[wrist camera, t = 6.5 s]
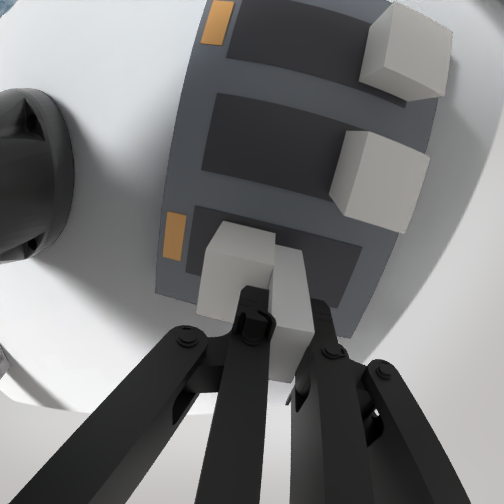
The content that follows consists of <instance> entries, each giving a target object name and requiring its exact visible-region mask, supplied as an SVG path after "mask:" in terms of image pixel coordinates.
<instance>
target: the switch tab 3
mask: <svg viewBox="0 0 504 504" xmlns="http://www.w3.org/2000/svg"><path fill="white" fill-rule="evenodd" d="M430 158H431V157H429V156H427V155H425V154H423V153H421V152H419V151H416V150H414V149H412V148H410V147H407V146H405V145H403V144H400V143H398V142H395V141H393V140H391V139H388V138H386V137H383V136H380V135H378V134H375V133H373V132H370V131H346V134H345V138H344V142H343V145H342V149H341V153H340V156H339V160H338V164H337V167H336V171H335V174H334V178H333V181H332V185H331V188H330V191H329V196H330V197H331V198H332V200H333V201H334V202H335V204H336V205H337V207H338V208H339V209H340V211H341V212H342V214H343V215H344V216H346V217H350V218H353V219H357V220H360V221H363V222H367V223H370V224H373V225H376V226H380V227H383V228H386V229H389V230H392V231H395V232H398V233H401V234H404V235H405V233H406V231H407V228H408V225H409V223H410V220H411V217H412V214H413V212H414V209H415V206H416V203H417V200H418V197H419V194H420V191H421V188H422V185H423V182H424V178H425V175H426V172H427V168H428V165H429V161H430Z"/></svg>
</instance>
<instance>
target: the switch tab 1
mask: <svg viewBox="0 0 504 504" xmlns="http://www.w3.org/2000/svg"><path fill="white" fill-rule="evenodd" d="M275 235H276V233H272V232H268V231H264V230H260V229H256V228H252V227H248V226H243V225H239V224H235V223H231V222H227V221H223V222H222V223H221V225H220V227H219V228H218V230H217V231H216V233H215V235H214V236H213V238H212V240H211V241H210V243H209V245H208V246H207V248H206V251H205V257H204V263H203V269H202V276H201V282H200V289H199V295H198V302H197V309H196V314H198V315H202V316H206V317H210V318H213V319H217V320H221V321H225V322H229V323H234V319H235V314H236V310H237V306H238V301H239V297H240V292H241V290H242V289H243V288H244V287H245V286H246V285H249V286H254V287H258V288H263V289H267V287H268V283H269V280H270V277H271V273H272V270H273V266H274V253H275Z"/></svg>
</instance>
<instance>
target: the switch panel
mask: <svg viewBox="0 0 504 504" xmlns="http://www.w3.org/2000/svg"><path fill="white" fill-rule="evenodd" d="M391 4H392V3H391V2H389V1H386V0H207V2H206V5H205V8H204V12H203V15H202V18H201V21H200V24H199V28H198V31H197V35H196V38H195V42H194V45H193V49H192V52H191V56H190V60H189V64H188V68H187V72H186V76H185V80H184V84H183V89H182V93H181V98H180V102H179V107H178V112H177V117H176V122H175V127H174V132H173V138H172V144H171V149H170V155H169V162H168V168H167V175H166V182H165V189H164V197H163V205H162V213H161V223H160V233H159V243H158V255H157V269H156V286H155V293H157V294H160V295H164V296H167V297H171V298H174V299H178V300H181V301H185V302H189V303H192V304H196V305H197V302H198V295H199V289H200V282H201V276H202V269H203V263H204V257H205V251H206V248H207V246H208V245H209V243H210V241H211V240H212V238H213V236H214V235H215V233H216V231H217V230H218V228H219V227H220V225H221V223H222V222H223V221H227V222H231V223H235V224H239V225H243V226H248V227H252V228H256V229H260V230H264V231H268V232H272V233H276V235H275V244H276V245H280V246H285V247H289V248H293V249H297V250H302V254H303V260H304V266H305V271H306V278H307V284H308V290H309V297H310V298H314V299H319V300H324V301H325V302H326V304H327V305H328V306H329V308H330V310H331V315H332V316H331V317H332V319H333V323H334V328H335V332H336V336H339V337H344V338H351V337H352V335H353V333H354V331H355V329H356V327H357V325H358V323H359V321H360V319H361V317H362V315H363V313H364V311H365V309H366V307H367V305H368V303H369V301H370V299H371V297H372V295H373V293H374V291H375V289H376V286H377V284H378V282H379V280H380V278H381V275H382V273H383V271H384V269H385V266H386V264H387V262H388V259H389V257H390V254H391V252H392V250H393V247H394V245H395V242H396V240H397V237H398V234H399V233H398V232H395V231H392V230H389V229H386V228H383V227H380V226H376V225H373V224H370V223H367V222H363V221H360V220H357V219H353V218H350V217H346V216H344V215H343V214H342V212H341V211H340V209H339V208H338V207H337V205H336V204H335V202H334V201H333V200H332V198H331V197H330V196H329V191H330V188H331V185H332V181H333V178H334V174H335V171H336V167H337V164H338V160H339V156H340V153H341V149H342V145H343V142H344V138H345V134H346V131H370V132H373V133H375V134H378V135H380V136H383V137H386V138H388V139H391V140H393V141H395V142H398V143H400V144H403V145H405V146H407V147H410V148H412V149H414V150H416V151H419V152H421V153H423V154H425V152H426V148H427V145H428V141H429V137H430V133H431V128H432V124H433V120H434V115H435V110H436V106H437V100H438V97H435V98H428V99H421V100H415V101H409V102H408V101H406V100H404V99H401V98H399V97H397V96H394V95H392V94H390V93H387V92H385V91H383V90H380V89H378V88H375V87H372V86H370V85H367V84H364V83H362V82H359V77H360V72H361V67H362V63H363V58H364V53H365V48H366V43H367V38H368V33H369V28H370V26H371V25H372V24H373V23H374V22H375V21H376V20H377V19H378V18H379V17H380V16H381V15H382V14H383V13H384V12H385V10H386V9H387V8H388V7H389V6H390V5H391Z"/></svg>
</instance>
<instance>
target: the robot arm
mask: <svg viewBox="0 0 504 504" xmlns="http://www.w3.org/2000/svg"><path fill="white" fill-rule="evenodd" d="M16 1H17V0H0V18H1V17H2V15H4V14H5V13H6V12H8V11H9V10H10V9H11V8H12V7H13V5H14V4H15V3H16ZM73 183H74V167H73V156H72V148H71V143H70V138H69V134H68V131H67V127H66V125H65V122H64V119H63V117H62V115H61V113H60V111H59V109H58V108H57V106H56V105H55V103H54V102H53V101H52V100H51V99H50V98H49V97H48V96H47V95H46V94H44V93H43V92H41V91H39V90H36V89H30V88H20V89H9V90H5V91H2V92H0V264H4V263H9V262H14V261H20V260H25V259H28V258H31V257H33V256H35V255H36V254H38V253H39V252H41V251H42V250H44V249H45V248H47V247H48V246H50V245H51V244H52V243H53V242H54V241H55V240H56V239H57V238H58V236H59V235H60V233H61V232H62V230H63V228H64V226H65V224H66V221H67V218H68V215H69V211H70V207H71V202H72V195H73ZM331 316H332V315H331V310H330V308H329V306H328V305H327V304H326V302H325V301H324V300H319V299H314V298H310V297H309V290H308V284H307V278H306V271H305V266H304V260H303V254H302V250H297V249H293V248H289V247H285V246H280V245H276V244H275V253H274V266H273V270H272V273H271V277H270V280H269V283H268V287H267V289H263V288H258V287H254V286H249V285H246V286H245V287H244V288H243V289H242V290H241V292H240V297H239V301H238V306H237V310H236V314H235V319H234V323H233V327H232V330H231V331H230V332H229V333H228V334H226V335H224V336H220V337H207V336H206V335H205V334H204V332H203V331H201V330H200V329H198V328H196V327H192V326H184V325H181V326H178V327H174V328H173V329H171V330H170V331H169V332H168V333H167V334H166V335H165V336H164V337H163V338H162V339H161V340H160V341H159V342H158V344H157V345H156V346H155V347H154V348H153V349H152V350H151V351H150V352H149V353H148V354H147V355H146V356H145V357H144V358H143V359H142V360H141V362H140V363H139V364H138V365H137V366H136V367H135V368H134V369H133V370H132V371H131V372H130V373H129V374H128V375H127V376H126V378H125V379H124V380H123V381H122V382H121V383H120V384H119V385H118V386H117V387H116V388H115V389H114V390H113V391H112V392H111V394H110V395H109V396H108V397H107V398H106V399H105V400H104V401H103V402H102V403H101V404H100V405H99V406H98V407H97V409H96V410H95V411H94V412H93V413H92V414H91V415H90V416H89V417H88V418H87V419H86V420H85V421H84V423H83V424H82V425H81V426H80V427H79V428H78V429H77V430H76V431H75V432H74V433H73V434H72V435H71V437H70V438H69V439H68V440H67V441H66V442H65V443H64V444H63V445H62V446H61V447H60V448H59V450H58V451H57V452H56V453H55V454H54V455H53V456H52V457H51V458H50V459H49V460H48V461H47V463H46V464H45V465H44V466H43V467H42V468H41V469H40V470H39V471H38V472H37V474H35V476H34V477H33V478H32V479H31V480H30V481H29V482H28V483H27V484H26V485H25V487H24V488H23V489H22V490H21V491H20V492H19V493H18V494H17V495H16V496H15V497H14V499H13V500H12V501H11V502H10V503H9V504H125V503H126V502H127V500H128V499H129V497H130V496H131V494H132V493H133V492H134V490H135V489H136V487H137V486H138V485H139V483H140V482H141V480H142V479H143V478H144V476H145V475H146V473H147V472H148V470H149V469H150V468H151V466H152V465H153V463H154V462H155V460H156V459H157V457H158V456H159V454H160V453H161V451H162V450H163V449H164V447H165V446H166V444H167V443H168V441H169V440H170V438H171V437H172V435H173V434H174V432H175V431H176V429H177V428H178V426H179V424H180V423H181V422H182V420H183V419H184V417H185V416H186V414H187V413H188V411H189V409H190V408H191V406H192V405H193V403H194V402H195V400H196V399H197V397H198V396H199V394H200V393H212V392H218V396H217V400H216V405H215V410H214V414H213V419H212V424H211V428H210V433H209V437H208V442H207V447H206V451H205V456H204V461H203V466H202V470H201V475H200V480H199V484H198V489H197V494H196V498H195V503H194V504H259V501H260V489H261V477H262V464H263V452H264V439H265V424H266V410H267V394H268V380H273V381H279V382H285V383H291V382H292V380H293V378H294V376H295V386H294V387H293V389H292V391H291V393H290V395H289V397H288V399H287V401H286V404H285V405H289V403H290V401H291V476H290V504H471V503H470V500H469V498H468V496H467V494H466V492H465V490H464V488H463V486H462V484H461V482H460V480H459V478H458V476H457V474H456V472H455V470H454V468H453V466H452V464H451V462H450V460H449V458H448V456H447V455H446V453H445V451H444V449H443V447H442V445H441V444H440V442H439V440H438V438H437V436H436V434H435V433H434V431H433V429H432V428H431V426H430V424H429V422H428V421H427V419H426V417H425V415H424V413H423V412H422V410H421V408H420V407H419V405H418V404H417V402H416V400H415V398H414V397H413V395H412V393H411V392H410V390H409V388H408V387H407V385H406V383H405V382H404V380H403V379H402V377H401V375H400V374H399V372H398V371H397V369H396V368H395V367H394V366H393V365H392V364H390V363H389V362H387V361H385V360H381V359H375V360H372V361H371V362H370V363H369V364H368V366H365V365H362V364H360V363H357V362H355V361H353V360H350V359H349V355H348V353H347V351H346V349H345V348H344V347H343V346H342V345H340V344H338V341H337V337H336V332H335V328H334V323H333V319H332V317H331ZM375 409H377V410H378V413H379V416H377V415H376V414H375V412H374V411H375Z"/></svg>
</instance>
